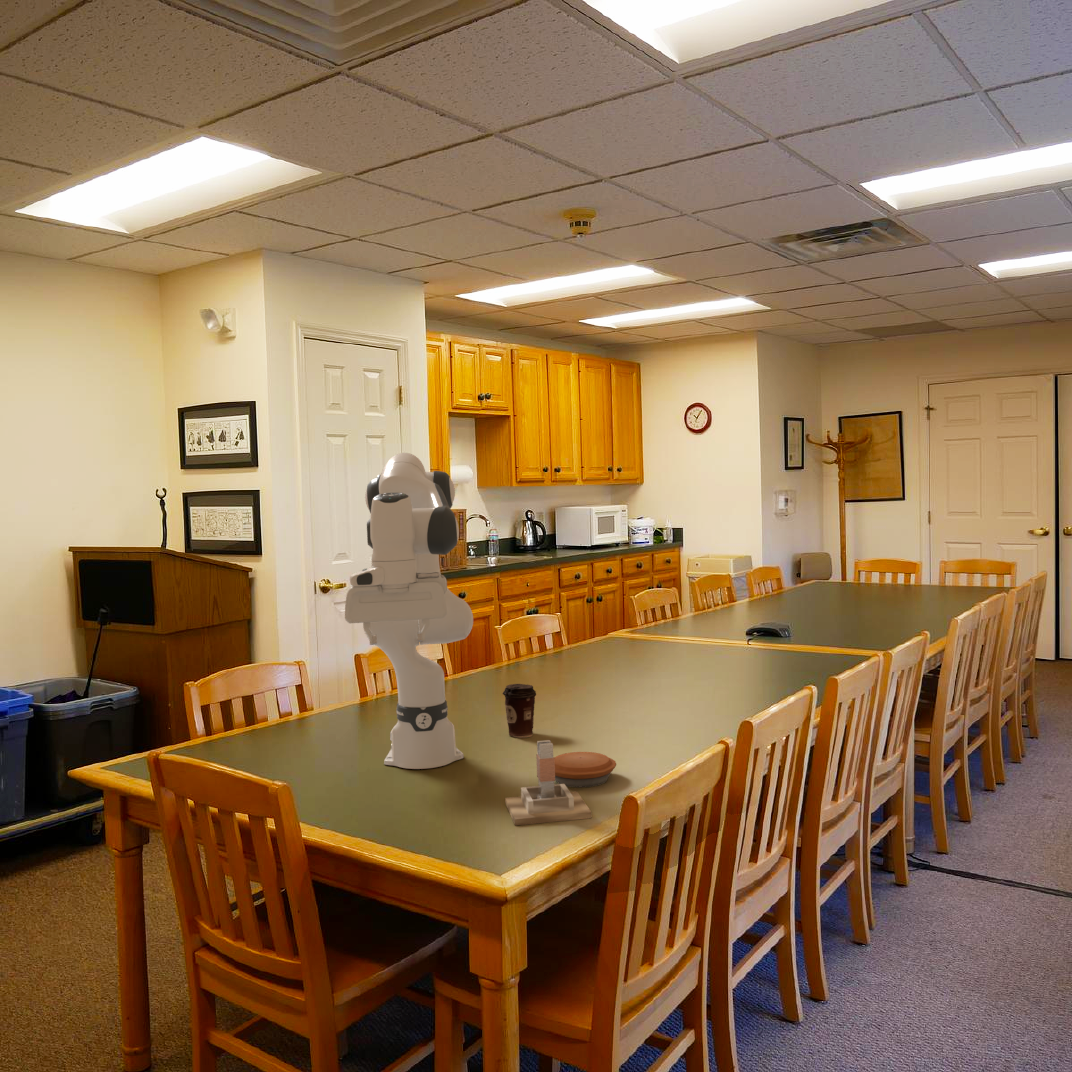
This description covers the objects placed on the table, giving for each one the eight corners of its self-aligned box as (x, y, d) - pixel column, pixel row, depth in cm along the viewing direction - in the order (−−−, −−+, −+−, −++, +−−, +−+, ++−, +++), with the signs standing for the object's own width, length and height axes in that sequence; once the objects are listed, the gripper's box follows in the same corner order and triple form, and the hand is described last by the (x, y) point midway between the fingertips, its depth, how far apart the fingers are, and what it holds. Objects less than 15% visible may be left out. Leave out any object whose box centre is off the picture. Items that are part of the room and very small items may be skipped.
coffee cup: (508, 740, 243) (506, 690, 242) (500, 733, 251) (498, 684, 250) (541, 737, 245) (539, 687, 244) (532, 729, 253) (530, 681, 252)
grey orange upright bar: (535, 801, 191) (533, 740, 190) (554, 800, 192) (552, 739, 191) (539, 809, 187) (537, 746, 186) (558, 807, 187) (556, 744, 187)
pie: (612, 768, 217) (611, 746, 217) (620, 789, 201) (620, 766, 201) (544, 771, 216) (543, 749, 216) (548, 792, 201) (547, 769, 200)
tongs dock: (505, 803, 194) (504, 785, 194) (577, 797, 197) (576, 779, 197) (515, 825, 182) (514, 806, 181) (591, 818, 184) (590, 799, 184)
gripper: (445, 570, 195) (447, 637, 195) (343, 575, 191) (346, 643, 192) (447, 572, 188) (450, 642, 189) (342, 578, 185) (345, 648, 186)
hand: (397, 643), depth 191 cm, fingers open, 8 cm apart
